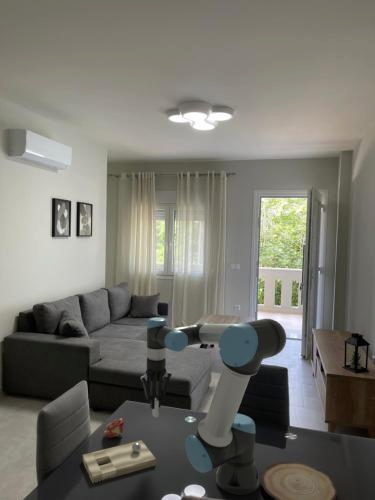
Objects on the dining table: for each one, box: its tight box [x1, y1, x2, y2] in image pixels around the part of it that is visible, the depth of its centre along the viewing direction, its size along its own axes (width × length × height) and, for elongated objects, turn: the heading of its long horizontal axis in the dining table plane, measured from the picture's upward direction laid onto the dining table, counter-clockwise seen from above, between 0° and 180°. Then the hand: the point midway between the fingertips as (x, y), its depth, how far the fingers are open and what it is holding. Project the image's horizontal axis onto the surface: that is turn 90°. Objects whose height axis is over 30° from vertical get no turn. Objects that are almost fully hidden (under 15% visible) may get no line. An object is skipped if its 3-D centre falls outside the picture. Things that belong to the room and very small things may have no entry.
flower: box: [103, 417, 125, 439], centre depth 169 cm, size 10×9×8 cm
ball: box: [132, 443, 141, 453], centre depth 153 cm, size 4×4×4 cm
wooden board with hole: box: [82, 439, 157, 484], centre depth 150 cm, size 15×24×2 cm, turn 118°
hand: (155, 415), depth 157 cm, fingers closed
